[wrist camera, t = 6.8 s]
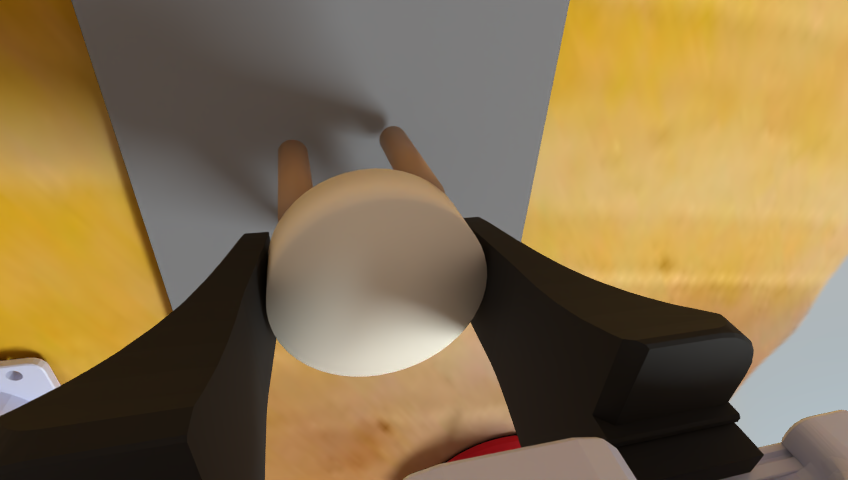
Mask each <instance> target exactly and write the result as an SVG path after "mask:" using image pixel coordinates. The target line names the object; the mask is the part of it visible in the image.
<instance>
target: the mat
mask: <svg viewBox="0 0 848 480" xmlns="http://www.w3.org/2000/svg"><path fill="white" fill-rule="evenodd" d="M71 1H72V4H73V7H74V10H75V13H76V16H77V19H78V22H79V25H80V28H81V31H82V35H83V38H84V41H85V44H86V47H87V50H88V53H89V56H90V59H91V62H92V65H93V68H94V71H95V74H96V77H97V80H98V83H99V86H100V89H101V93H102V96H103V99H104V102H105V105H106V108H107V111H108V114H109V117H110V120H111V123H112V126H113V129H114V132H115V135H116V138H117V141H118V144H119V148H120V151H121V154H122V157H123V160H124V163H125V166H126V169H127V172H128V175H129V178H130V181H131V184H132V187H133V190H134V193H135V196H136V199H137V202H138V206H139V209H140V212H141V215H142V218H143V221H144V224H145V227H146V230H147V233H148V236H149V239H150V242H151V245H152V248H153V251H154V254H155V257H156V260H157V264H158V267H159V270H160V273H161V276H162V279H163V282H164V285H165V288H166V291H167V294H168V297H169V300H170V303H171V306H172V309H173V311H174V310H175V309H176V308H177V307H178V306H180V305H181V304H182V303H183V302H184V301H185V300H186V299H187V298H188V297H189V296H190V295H191V294H192V293H193V292H194V291H195V290H196V289H197V288H198V287H199V286H200V285H201V284H202V283H203V282H204V281H205V280H206V279H207V277H208V276H209V275H210V274H211V273H212V272H213V271H214V269H215V268H216V267H217V266H218V265H219V264H220V263H221V261H222V260H223V259H224V258H225V256H226V255H227V254H228V253H229V252H230V250H231V249H232V248H233V246H234V245H235V244H236V243H237V241H238V240H239V239H240V238H241V237H242V236H243V235H244V234H245V233H259V232H269V236H270V241H271V237H272V234H273V232H274V230H275V228H276V226H277V224H278V149H279V147H280V145H281V144H282V143H283V142H285V141H287V140H297V141H300V142H302V143H303V144H304V145H305V146H306V148H307V151H308V157H309V164H310V171H311V178H312V184H313V187H314V186H316V185H317V184H319V183H321V182H323V181H325V180H327V179H329V178H332V177H335V176H337V175H340V174H343V173H347V172H351V171H356V170H362V169H373V168H377V169H392V170H393V168H392V166H391V164H390V163H389V161H388V159H387V157H386V155H385V153H384V151H383V149H382V147H381V145H380V142H379V138H380V135H381V133H382V131H383V130H384V129H386V128H387V127H390V126H397V127H400V128H401V129H402V130H403V131H404V132H405V133H406V135H407V136H408V138H409V139H410V141H411V142H412V143H413V145H414V146H415V148H416V149H417V151H418V152H419V153H420V155H421V156H422V158H423V159H424V161H425V162H426V163H427V165H428V166H429V168H430V169H431V171H432V172H433V173H434V175H435V176H436V178H437V179H438V181H439V182H440V183H441V185H442V186H443V188H444V191H445V194H446V196H447V197H448V198H449V199H450V200H451V202H452V203H453V204H454V206H455V207H456V209H457V210H458V211H459V213H460V214H461V216H462V217H463V218H469V217H480V218H482V219H484V220H486V221H488V222H489V223H491V224H493V225H494V226H496V227H497V228H499V229H501V230H502V231H504V232H505V233H507V234H509V235H510V236H512V237H513V238H515V239H516V240H518V241H520V242H521V238H522V234H523V229H524V224H525V219H526V214H527V209H528V204H529V199H530V194H531V189H532V184H533V179H534V174H535V169H536V164H537V159H538V154H539V149H540V144H541V139H542V134H543V129H544V125H545V120H546V115H547V110H548V105H549V100H550V95H551V90H552V85H553V80H554V75H555V70H556V65H557V60H558V55H559V50H560V45H561V40H562V35H563V30H564V25H565V21H566V16H567V11H568V6H569V1H570V0H71Z"/></svg>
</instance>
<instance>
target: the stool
mask: <svg viewBox="0 0 848 480" xmlns="http://www.w3.org/2000/svg"><path fill="white" fill-rule="evenodd" d="M379 142H380V145H381V147H382V149H383V151H384V153H385V155H386V157H387V159H388V161H389V163H390V164H391V166H392V168H393V170H392V169H377V168H373V169H362V170H356V171H351V172H347V173H343V174H340V175H337V176H335V177H332V178H329V179H327V180H325V181H323V182H321V183H319V184H317V185H316V186H314V187H313V184H312V178H311V171H310V164H309V157H308V151H307V148H306V146H305V145H304V144H303V143H302V142H300V141H297V140H287V141H285V142H283V143H282V144H281V145H280V147H279V149H278V224H277V226H276V228H275V230H274V232H273V234H272V237H271V241H270V244H269V249H268V261H267V284H266V312H267V316H268V320H269V324H270V326H271V329H272V331H273V333H274V335H275V336H276V338H277V340H278V341H279V343H280V344H281V345H282V346H283V347H284V348H285V349H286V350H287V351H288V352H289V353H290V354H291V355H292V356H294V357H295V358H296V359H298V360H299V361H301V362H303V363H304V364H306V365H308V366H310V367H313V368H315V369H317V370H320V371H324V372H327V373H331V374H336V375H342V376H354V377H356V376H374V375H382V374H387V373H392V372H396V371H399V370H402V369H406V368H408V367H411V366H413V365H416V364H418V363H420V362H422V361H424V360H426V359H428V358H430V357H431V356H433V355H435V354H436V353H438V352H440V351H441V350H442V349H444V348H445V347H446V346H448V345H449V344H450V343H451V342H452V341H453V340H455V339H456V338H457V337H458V336H459V335H460V334H461V333H462V332H463V330H464V329H465V328H466V327H467V326H468V324H469V323H470V322H471V320H472V319H473V317H474V315H475V314H476V312H477V310H478V309H479V306H480V304H481V301H482V299H483V296H484V292H485V288H486V282H487V265H486V260H485V255H484V252H483V250H482V247H481V244H480V243H479V241H478V239H477V238H476V236H475V234H474V233H473V232H472V230H471V229H470V227H469V226H468V224H467V223H466V221H465V220H464V219H463V217H462V216H461V214H460V213H459V211H458V210H457V209H456V207H455V206H454V204H453V203H452V202H451V200H450V199H449V198H448V197H447V196H446V194H445V191H444V188H443V186H442V185H441V183H440V182H439V181H438V179H437V178H436V176H435V175H434V173H433V172H432V171H431V169H430V168H429V166H428V165H427V163H426V162H425V161H424V159H423V158H422V156H421V155H420V153H419V152H418V151H417V149H416V148H415V146H414V145H413V143H412V142H411V141H410V139H409V138H408V136H407V135H406V133H405V132H404V131H403V130H402V129H401V128H400V127H397V126H390V127H387V128H386V129H384V130H383V131H382V133H381V135H380V138H379Z"/></svg>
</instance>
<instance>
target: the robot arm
mask: <svg viewBox="0 0 848 480" xmlns="http://www.w3.org/2000/svg"><path fill="white" fill-rule="evenodd" d="M463 219H464V220H465V221H466V223H467V224H468V226H469V227H470V229H471V230H472V232H473V233H474V234H475V236H476V238H477V239H478V241H479V243H480V244H481V247H482V250H483V252H484V255H485V260H486V265H487V282H486V288H485V292H484V296H483V299H482V301H481V304H480V306H479V309H478V310H477V312H476V314H475V315H474V317H473V319H472V320H471V324H472V326H473V328H474V330H475V332H476V334H477V336H478V338H479V340H480V342H481V344H482V346H483V348H484V350H485V352H486V354H487V356H488V358H489V360H490V362H491V365H492V367H493V369H494V371H495V374H496V376H497V379H498V381H499V384H500V387H501V390H502V392H503V395H504V398H505V401H506V404H507V406H508V409H509V412H510V415H511V418H512V421H513V424H514V427H515V430H516V433H517V436H518V439H519V443H520V446H521V448H517V449H512V450H507V451H502V452H497V453H492V454H487V455H482V456H477V457H472V458H467V459H462V460H457V461H452V462H447V463H442V464H438V465H435V466H432V467H429V468H427V469H424V470H421V471H418V472H415V473H412V474H410V475H408V476H407V477H405V478H404V479H403V480H848V411H846V410H838V411H833V412H828V413H824V414H819V415H814V416H810V417H806V418H804V419H801V420H800V421H798V422H796V423H795V424H794V425H793V426H792V427H791V428H789V430H788V431H787V432H786V434H785V435H784V437H783V438H782V442H781V443H777V444H772V445H768V446H764V447H759V448H757V446H756V445H755V444H754V443H753V442H752V441H751V440H750V439H749V438H748V437H747V436H746V434H745V433H744V432H743V431H742V430H741V429H740V428H739V427H738V426H737V425H736V424H735V423H734V422H738V420H739V419H740V415H739V413H738V412H737V411H736V410H735V409H734V408H733V406H732V405H731V404H730V403H729V402H728V401H729V400H730V398H731V397H732V395H733V394H734V392H735V390H736V389H737V387H738V386H739V384H740V383H741V381H742V380H743V378H744V377H745V375H746V373H747V371H748V369H749V367H750V365H751V363H752V358H753V346H752V342H751V341H750V340H749V339H748V338H747V337H746V336H745V335H744V334H742V333H741V332H740V331H739V330H738V329H737V328H736V327H735V326H733V325H732V324H731V323H730V322H729V321H728V320H727V319H726V318H724V317H723V316H722V315H720V314H717V313H712V312H707V311H703V310H698V309H693V308H688V307H683V306H678V305H673V304H669V303H666V302H662V301H658V300H654V299H651V298H647V297H643V296H640V295H637V294H633V293H630V292H627V291H624V290H621V289H618V288H616V287H613V286H610V285H607V284H604V283H602V282H599V281H596V280H594V279H591V278H589V277H587V276H584V275H582V274H580V273H578V272H575V271H573V270H571V269H569V268H567V267H565V266H563V265H561V264H559V263H557V262H555V261H553V260H551V259H549V258H547V257H545V256H544V255H542V254H540V253H538V252H537V251H535V250H533V249H531V248H530V247H528V246H526V245H525V244H523V243H521V242H520V241H518V240H516V239H515V238H513V237H512V236H510V235H509V234H507V233H505V232H504V231H502V230H501V229H499V228H497V227H496V226H494V225H493V224H491V223H489V222H488V221H486V220H484V219H482V218H480V217H469V218H463ZM269 244H270V236H269V232H259V233H245V234H244V235H243V236H242V237H241V238H240V239H239V240H238V241H237V243H236V244H235V245H234V246H233V248H232V249H231V250H230V252H229V253H228V254H227V255H226V256H225V258H224V259H223V260H222V261H221V263H220V264H219V265H218V266H217V267H216V268H215V269H214V271H213V272H212V273H211V274H210V275H209V276H208V277H207V279H206V280H205V281H204V282H203V283H202V284H201V285H200V286H199V287H198V288H197V289H196V290H195V291H194V292H193V293H192V294H191V295H190V296H189V297H188V298H187V299H186V300H185V301H184V302H183V303H182V304H181V305H180V306H178V307H177V308H176V309H175V310H174V311H173V312H171V313H170V314H169V315H168V316H167V317H165V318H164V319H163V320H162V321H161V322H159V323H158V324H157V325H155V326H154V327H153V328H152V329H150V330H149V331H147V332H146V333H144V334H143V335H142V336H140V337H139V338H137V339H136V340H134V341H133V342H132V343H130V344H129V345H127V346H126V347H125V348H123V349H122V350H120V351H119V352H117V353H116V354H114V355H113V356H111V357H109V358H108V359H106V360H104V361H103V362H101V363H100V364H98V365H96V366H95V367H93V368H91V369H90V370H88V371H86V372H84V373H83V374H81V375H79V376H77V377H76V378H74V379H72V380H70V381H69V382H67V383H65V384H63V385H60V383H59V381H58V380H57V378H56V376H55V375H54V373H53V371H52V369H51V368H50V366H49V364H48V363H47V362H46V361H44V360H42V359H39V358H22V359H14V360H5V361H0V480H265V446H266V415H267V403H268V393H269V386H270V379H271V372H272V365H273V358H274V351H275V344H276V336H275V335H274V333H273V331H272V329H271V326H270V324H269V320H268V316H267V312H266V284H267V261H268V249H269ZM16 371H17V372H16Z"/></svg>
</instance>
